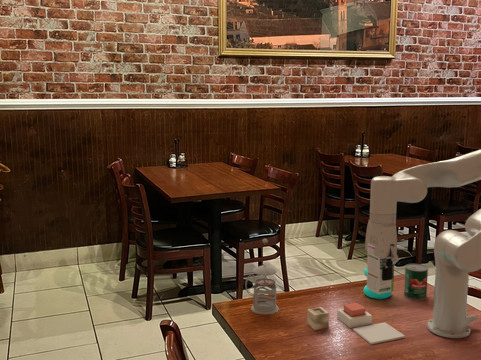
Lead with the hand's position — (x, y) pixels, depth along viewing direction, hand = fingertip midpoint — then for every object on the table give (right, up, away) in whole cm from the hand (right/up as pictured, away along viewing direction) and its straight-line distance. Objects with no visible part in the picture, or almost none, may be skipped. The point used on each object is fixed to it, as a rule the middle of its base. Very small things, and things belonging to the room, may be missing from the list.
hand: (380, 275), depth 158 cm
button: (-5, -15, +12) cm, 20 cm away
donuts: (+8, -13, +34) cm, 37 cm away
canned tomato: (+21, -13, +32) cm, 41 cm away
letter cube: (-18, -18, +9) cm, 27 cm away
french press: (-35, -16, +23) cm, 44 cm away
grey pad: (0, -19, +3) cm, 19 cm away
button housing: (-5, -17, +12) cm, 22 cm away
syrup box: (0, -5, +1) cm, 5 cm away
